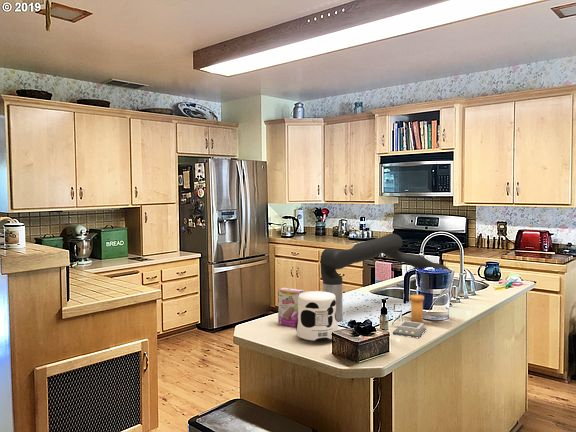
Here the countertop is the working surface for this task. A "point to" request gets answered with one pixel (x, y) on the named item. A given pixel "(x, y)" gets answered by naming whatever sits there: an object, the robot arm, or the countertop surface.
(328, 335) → the milk container
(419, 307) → the orange flared cylinder
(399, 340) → the countertop surface
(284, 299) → the candy bar box
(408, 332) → the breaker panel
